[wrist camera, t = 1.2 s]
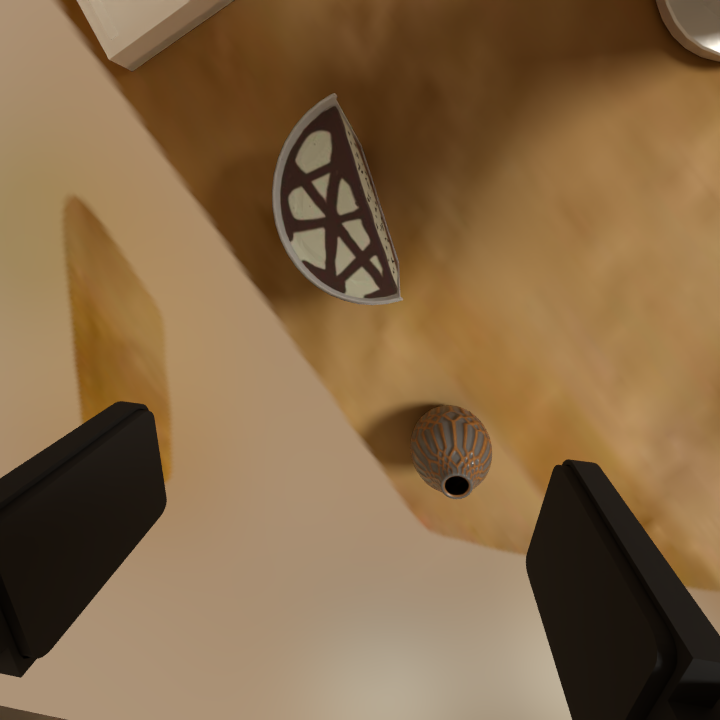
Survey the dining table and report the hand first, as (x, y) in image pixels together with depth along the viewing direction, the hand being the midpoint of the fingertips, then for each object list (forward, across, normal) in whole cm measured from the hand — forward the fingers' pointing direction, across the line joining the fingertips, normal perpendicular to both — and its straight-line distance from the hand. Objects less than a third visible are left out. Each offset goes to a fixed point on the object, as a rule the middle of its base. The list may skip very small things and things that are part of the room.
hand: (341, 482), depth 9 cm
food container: (+26, +4, -5) cm, 27 cm away
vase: (+26, -6, +13) cm, 30 cm away
